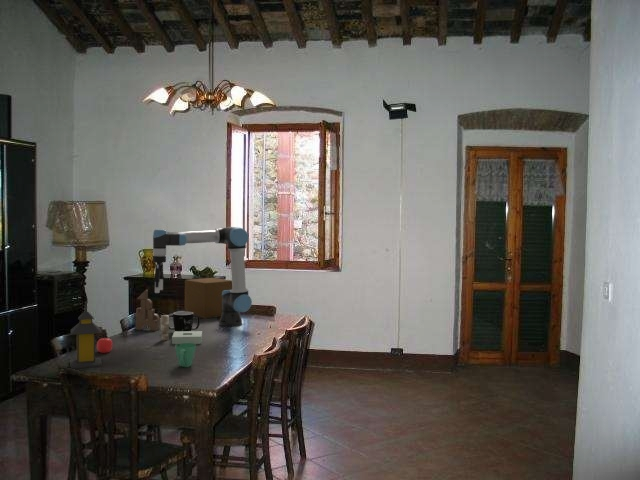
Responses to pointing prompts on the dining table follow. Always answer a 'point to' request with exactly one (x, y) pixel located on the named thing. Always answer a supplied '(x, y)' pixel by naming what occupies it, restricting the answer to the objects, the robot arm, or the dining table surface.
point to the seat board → (187, 337)
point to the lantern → (85, 342)
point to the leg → (164, 326)
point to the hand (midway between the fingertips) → (158, 291)
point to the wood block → (205, 296)
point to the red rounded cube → (104, 345)
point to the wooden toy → (141, 314)
